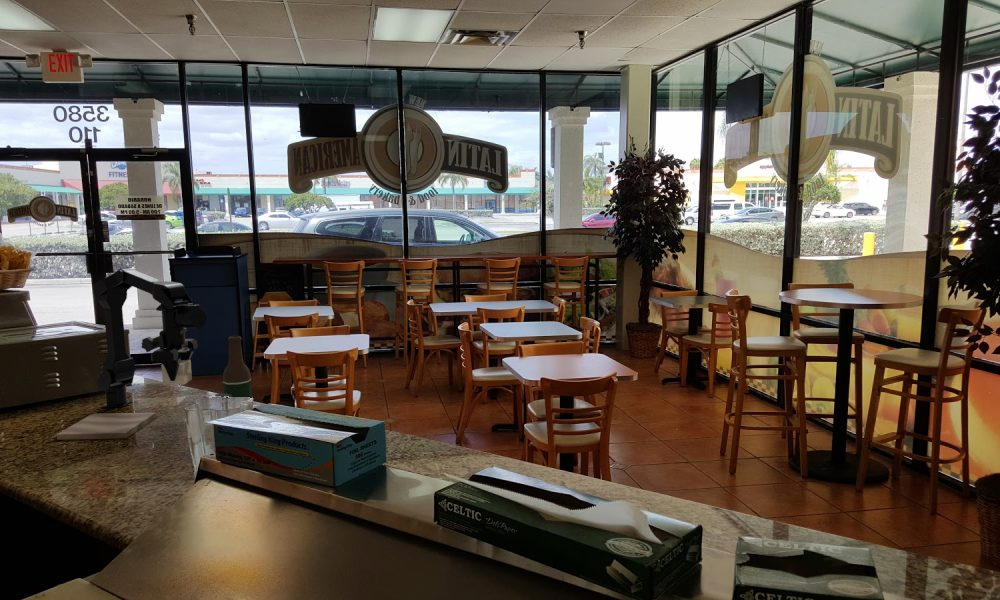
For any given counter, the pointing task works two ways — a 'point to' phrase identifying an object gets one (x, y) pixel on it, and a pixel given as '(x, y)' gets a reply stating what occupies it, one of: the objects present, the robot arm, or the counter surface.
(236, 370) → the beer bottle
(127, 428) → the wooden board
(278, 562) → the counter surface
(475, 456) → the counter surface
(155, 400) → the counter surface
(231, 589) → the counter surface
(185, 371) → the maple cube
